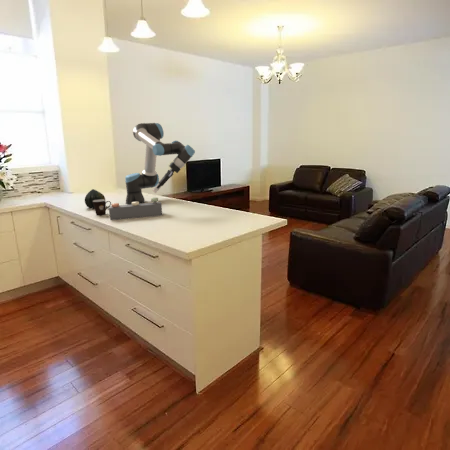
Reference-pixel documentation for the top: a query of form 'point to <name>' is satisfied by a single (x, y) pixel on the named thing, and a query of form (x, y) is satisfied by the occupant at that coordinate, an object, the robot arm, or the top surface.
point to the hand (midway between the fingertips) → (154, 191)
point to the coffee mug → (100, 206)
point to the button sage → (154, 200)
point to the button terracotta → (115, 205)
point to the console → (135, 211)
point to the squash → (93, 198)
